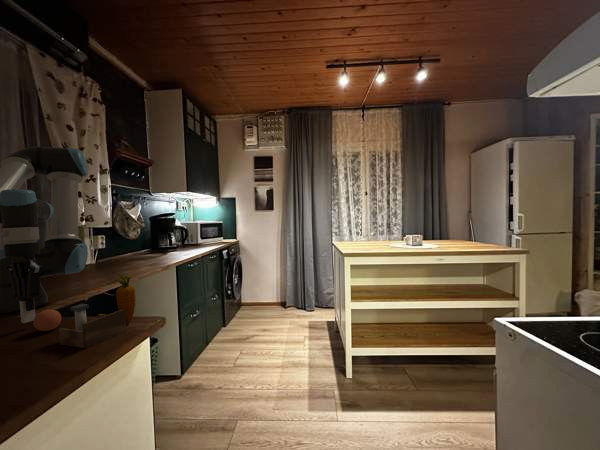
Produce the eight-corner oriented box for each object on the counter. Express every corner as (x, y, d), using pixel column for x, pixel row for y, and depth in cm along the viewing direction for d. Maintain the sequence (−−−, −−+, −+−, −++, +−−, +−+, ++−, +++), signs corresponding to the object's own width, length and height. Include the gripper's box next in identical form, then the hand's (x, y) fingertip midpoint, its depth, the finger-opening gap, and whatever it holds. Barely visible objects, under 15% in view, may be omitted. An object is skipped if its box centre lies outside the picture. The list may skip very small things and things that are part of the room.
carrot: (140, 323, 82) (136, 273, 82) (120, 329, 79) (116, 277, 78) (135, 319, 86) (131, 271, 85) (116, 324, 82) (112, 274, 82)
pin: (73, 336, 75) (70, 307, 75) (83, 332, 78) (81, 303, 77) (80, 337, 74) (77, 307, 74) (90, 333, 77) (88, 304, 76)
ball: (40, 328, 82) (39, 308, 82) (65, 324, 84) (64, 305, 84) (29, 336, 76) (27, 315, 76) (56, 332, 79) (55, 311, 78)
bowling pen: (60, 344, 71) (58, 321, 71) (101, 327, 81) (99, 307, 81) (86, 348, 68) (84, 324, 67) (126, 330, 78) (124, 309, 78)
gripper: (-9, 244, 80) (-2, 324, 81) (19, 243, 76) (26, 328, 77) (24, 241, 87) (30, 315, 88) (51, 240, 83) (57, 318, 84)
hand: (28, 321), depth 82 cm, fingers closed
